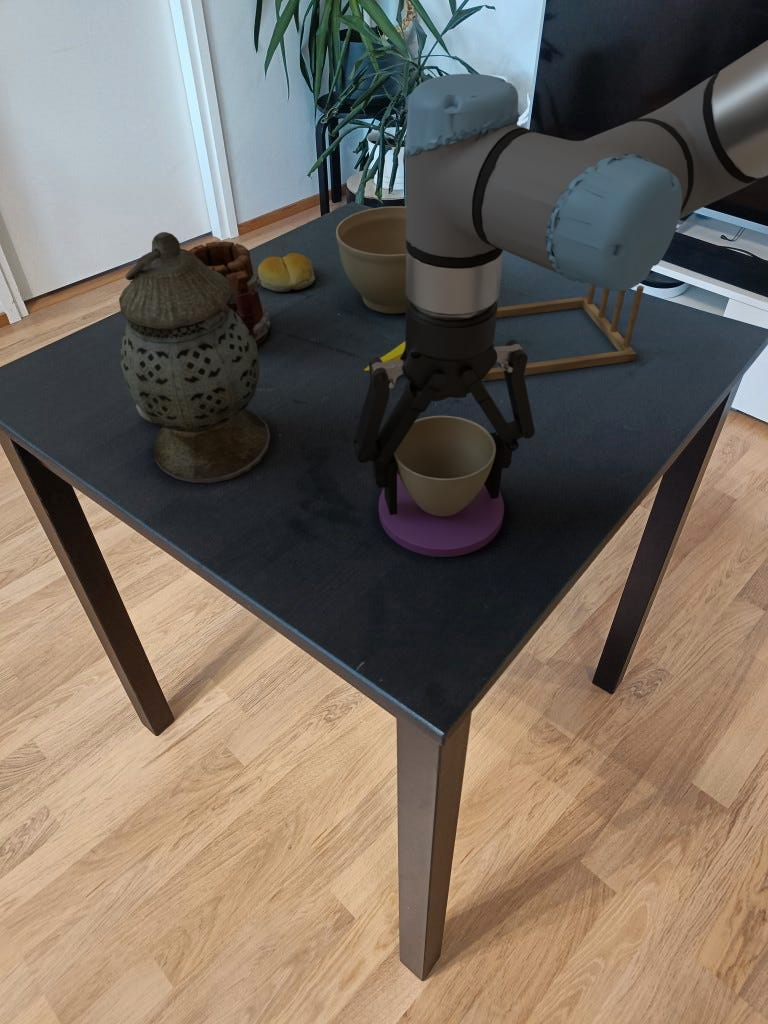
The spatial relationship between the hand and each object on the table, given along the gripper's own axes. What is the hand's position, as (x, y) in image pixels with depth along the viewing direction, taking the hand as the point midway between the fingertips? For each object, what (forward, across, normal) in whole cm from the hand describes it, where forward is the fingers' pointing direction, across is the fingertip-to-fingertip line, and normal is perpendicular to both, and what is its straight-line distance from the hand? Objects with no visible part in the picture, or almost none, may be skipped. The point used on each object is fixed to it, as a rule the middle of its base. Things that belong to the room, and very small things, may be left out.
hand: (441, 497), depth 73 cm
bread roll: (+2, +10, -56) cm, 57 cm away
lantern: (+2, +23, -17) cm, 29 cm away
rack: (+2, -22, -30) cm, 37 cm away
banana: (+1, -7, -29) cm, 30 cm away
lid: (+2, 0, 0) cm, 2 cm away
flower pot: (0, 0, 0) cm, 0 cm away
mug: (+2, +19, -40) cm, 44 cm away
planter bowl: (+2, -5, -46) cm, 46 cm away
